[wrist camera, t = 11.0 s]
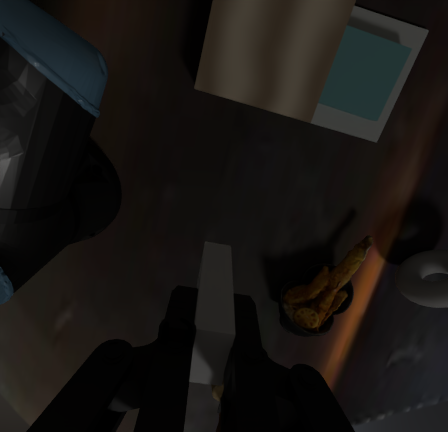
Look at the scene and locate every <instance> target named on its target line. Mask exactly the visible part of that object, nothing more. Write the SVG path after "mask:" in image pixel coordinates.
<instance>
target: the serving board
mask: <svg viewBox="0 0 448 432" xmlns="http://www.w3.org/2000/svg"><path fill="white" fill-rule="evenodd" d="M355 2H356V0H213V2H212V7H211V12H210V17H209V21H208V26H207V31H206V35H205V40H204V45H203V50H202V54H201V59H200V64H199V68H198V73H197V78H196V83H195V87H194V89H197V90H200V91H204V92H207V93H210V94H214V95H217V96H221V97H224V98H227V99H231V100H234V101H238V102H241V103H244V104H248V105H251V106H255V107H258V108H261V109H265V110H268V111H271V112H275V113H278V114H282V115H285V116H288V117H292V118H295V119H299V120H302V121H306V122H309V123H311V121H312V118H313V115H314V113H315V110H316V107H317V104H318V102H319V99H320V96H321V94H322V91H323V88H324V86H325V83H326V80H327V77H328V75H329V72H330V69H331V67H332V64H333V61H334V59H335V56H336V53H337V50H338V48H339V45H340V42H341V40H342V37H343V34H344V32H345V29H346V26H347V23H348V21H349V18H350V15H351V13H352V10H353V7H354V5H355Z"/></svg>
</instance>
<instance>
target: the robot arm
mask: <svg viewBox="0 0 448 432" xmlns="http://www.w3.org/2000/svg"><path fill="white" fill-rule="evenodd" d="M107 78H108V68H107V64H106V61H105V59H104V57H103V56H102V54H101V53H100V52H99V50H98V49H97V48H95V47H94V46H93V45H92V44H90V43H89V42H88V41H86V40H85V39H84V38H82V37H81V36H79V35H78V34H77V33H75V32H74V31H72V30H71V29H69V28H68V27H67V26H65V25H64V24H62V23H61V22H59V21H58V20H57V19H55V18H54V17H52V16H51V15H49V14H48V13H47V12H45V11H44V10H42V9H41V8H39V7H38V6H36V5H35V4H33V3H32V2H31V1H29V0H0V305H1V304H3V303H5V302H6V301H8V300H9V299H10V298H11V296H12V295H13V293H15V292H16V291H17V290H18V289H19V288H20V287H21V286H22V285H24V284H25V283H26V282H27V281H28V280H29V279H30V278H31V277H32V276H34V275H35V274H36V273H37V272H38V271H39V270H40V269H41V268H43V267H44V266H45V265H46V264H47V263H48V262H49V261H50V260H51V259H53V258H54V257H55V256H56V255H57V254H58V253H59V252H60V251H62V250H63V249H64V248H65V247H66V246H67V245H69V244H72V243H76V242H79V241H82V240H86V239H89V238H92V237H94V236H96V235H97V234H99V233H101V232H102V231H103V230H104V229H105V228H106V227H107V226H108V225H109V224H110V223H111V222H112V221H113V220H114V219H115V217H116V215H117V213H118V211H119V209H120V205H121V198H122V193H121V185H120V181H119V178H118V175H117V173H116V171H115V169H114V167H113V166H112V164H111V163H110V161H109V160H108V159H107V158H106V156H105V155H104V154H103V153H102V152H101V151H99V150H98V149H97V148H96V147H94V146H93V145H91V144H90V143H88V142H87V141H88V138H89V136H90V133H91V130H92V127H93V125H94V122H95V119H96V117H99V115H100V111H99V105H100V102H101V99H102V95H103V92H104V89H105V85H106V82H107ZM257 319H258V318H257V314H256V305H255V303H254V301H253V300H252V298H251V297H250V296H247V295H241V294H234V293H233V277H232V258H231V246H228V245H222V244H216V243H210V242H205V245H204V250H203V255H202V261H201V266H200V271H199V276H198V282H197V288H191V287H185V286H177V287H176V288H175V289H174V290H173V291H172V293H171V297H170V301H169V304H168V308H167V312H166V316H165V319H164V320H162V322H161V324H160V325H159V332H158V338H157V339H156V340H155V341H154V342H152V343H150V344H148V345H145V346H140V347H132V346H131V344H130V343H128V342H126V341H125V340H120V339H113V340H108V341H106V342H104V343H102V344H101V345H99V346H98V347H97V348H96V349H95V350H94V351H93V353H92V354H91V355H90V356H89V357H88V359H87V360H86V361H85V362H84V363H83V365H82V366H81V367H80V368H79V369H78V370H77V372H76V373H75V374H74V375H73V376H72V378H71V379H70V380H69V381H68V382H67V384H66V385H65V386H64V387H63V388H62V390H61V391H60V392H59V393H58V394H57V396H56V397H55V398H54V399H53V400H52V402H51V403H50V404H49V405H48V406H47V408H46V409H45V410H44V411H43V412H42V414H41V415H40V416H39V417H38V418H37V419H36V421H35V422H34V423H33V424H32V425H31V427H30V428H29V429H28V430H27V432H116V430H117V429H118V427H119V425H120V423H121V421H122V420H123V418H124V416H125V414H126V412H127V411H128V410H132V409H137V408H140V409H139V413H138V417H137V421H136V425H135V428H134V432H183V431H184V422H185V414H186V405H187V396H188V388H189V382H196V383H203V384H211V385H219V386H221V385H222V382H223V378H224V390H223V393H222V397H221V400H220V404H219V407H218V412H217V413H220V412H221V432H355V431H354V429H353V427H352V426H351V424H350V422H349V421H348V419H347V417H346V416H345V414H344V412H343V410H342V409H341V407H340V405H339V404H338V402H337V400H336V399H335V397H334V395H333V393H332V392H331V390H330V388H329V387H328V385H327V383H326V382H325V380H324V378H323V377H322V376H321V374H320V373H319V372H318V371H317V370H315V369H314V368H313V367H311V366H308V365H306V364H296V365H294V366H293V367H292V368H291V369H288V368H286V367H284V366H281V365H279V364H277V363H275V362H274V361H272V360H271V359H270V358H269V357H268V355H267V352H266V351H265V350H264V349H263V348H262V344H261V337H260V331H259V325H258V320H257Z"/></svg>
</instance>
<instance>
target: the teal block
mask: <svg viewBox="0 0 448 432" xmlns="http://www.w3.org/2000/svg"><path fill="white" fill-rule="evenodd" d="M411 50H412V48H409V47H406V46H404V45H401V44H398V43H395V42H393V41H390V40H387V39H384V38H381V37H379V36H376V35H373V34H370V33H368V32H365V31H362V30H359V29H356V28H354V27H351V26H348V25H347V26H346V29H345V32H344V34H343V37H342V40H341V42H340V45H339V48H338V50H337V53H336V56H335V59H334V61H333V64H332V67H331V69H330V72H329V75H328V77H327V80H326V83H325V86H324V88H323V91H322V94H321V96H320V99H319V102H318V103H320V104H323V105H326V106H329V107H332V108H335V109H338V110H341V111H344V112H347V113H350V114H353V115H356V116H359V117H362V118H365V119H368V120H372V121H378V119H379V117H380V115H381V113H382V111H383V109H384V106H385V104H386V102H387V100H388V98H389V96H390V94H391V92H392V90H393V88H394V86H395V84H396V82H397V79H398V77H399V75H400V73H401V71H402V69H403V67H404V65H405V63H406V61H407V59H408V57H409V54H410V52H411Z"/></svg>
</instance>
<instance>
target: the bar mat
mask: <svg viewBox="0 0 448 432" xmlns="http://www.w3.org/2000/svg"><path fill="white" fill-rule="evenodd" d="M347 25H348V26H351V27H354V28H356V29H359V30H362V31H365V32H368V33H370V34H373V35H376V36H379V37H381V38H384V39H387V40H390V41H393V42H395V43H398V44H401V45H404V46H406V47H409V48H412V50H411V52H410V54H409V57H408V59H407V61H406V63H405V65H404V67H403V69H402V71H401V73H400V75H399V77H398V79H397V82H396V84H395V86H394V88H393V90H392V92H391V94H390V96H389V98H388V100H387V102H386V104H385V106H384V109H383V111H382V113H381V115H380V117H379V119H378V121H372V120H368V119H365V118H362V117H359V116H356V115H353V114H350V113H347V112H344V111H341V110H338V109H335V108H332V107H329V106H326V105H323V104H320V103H318V104H317V107H316V110H315V113H314V115H313V118H312V121H311V123H312V124H316V125H319V126H322V127H326V128H329V129H333V130H336V131H339V132H343V133H346V134H350V135H353V136H356V137H360V138H363V139H366V140H370V141H373V142H377V141H378V139H379V136H380V134H381V132H382V130H383V128H384V126H385V124H386V121H387V119H388V117H389V115H390V113H391V111H392V109H393V106H394V104H395V102H396V100H397V98H398V96H399V94H400V91H401V89H402V87H403V85H404V83H405V81H406V79H407V76H408V74H409V72H410V70H411V68H412V66H413V64H414V61H415V59H416V57H417V55H418V53H419V51H420V49H421V46H422V44H423V42H424V40H425V38H426V36H427V34H428V31H429V30H426V29H423V28H420V27H417V26H414V25H411V24H408V23H405V22H402V21H399V20H396V19H393V18H390V17H387V16H384V15H381V14H378V13H375V12H372V11H369V10H366V9H363V8H360V7H357V6H354V7H353V10H352V13H351V15H350V18H349V21H348V23H347ZM305 122H306V121H305Z"/></svg>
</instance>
